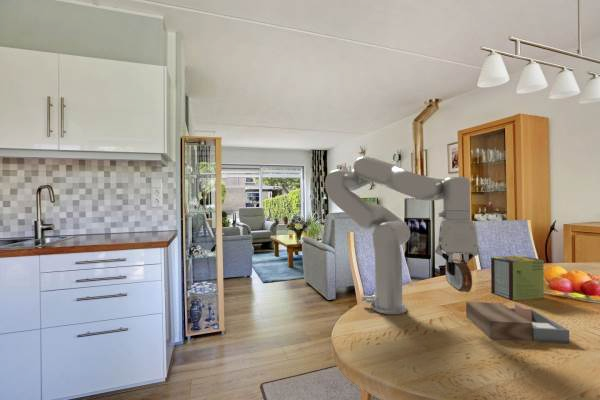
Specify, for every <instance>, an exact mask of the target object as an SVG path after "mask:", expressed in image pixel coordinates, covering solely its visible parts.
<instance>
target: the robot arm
mask: <svg viewBox="0 0 600 400" xmlns="http://www.w3.org/2000/svg"><path fill="white" fill-rule="evenodd" d="M370 183H375V184H377V185H380V186H383V187H386V188H388V189H390V190H392V191H396V192H398V193H400V194H403V195H405V196H409V197H412V198H414V199H417V200H420V201H439V200H442V201H443V202H442V205H443V206H442V207H443V208H442V209H443V210H442V211H441V212H438V217H440V218H442V220H441V222H440V225H439V231H438V244H437V247H436V248H435V251H434V253H435V254H437V255H438V256H440V257H442V259H444V260H445V262H446V261H447V271H448V273H449V274H450V275H454V263H453V257H454V254H460V261H461V262H463V263H465V264H467V265H468V263H469V262H470V261H471V260H472V259H473V257H476V256H477V257H478V255H480V251H479V248H478V239H477V232H476V227H475V223H474V221H473V220H471V180H470V179H469V177H465V176H452V177H451V176H450V177H446V178H444V179H443V178H435V177H430V176H425V175H422V174H419V173H414V172H412V171H409V170H405V169H404V168H402V167H401V166H399V165H396V164H393V163H391V162H386V161H383V160H380V159H378V158H374V157H370V156H360V157H358V158H356V160H355V161H354V163H353V169H352V170H346V169H333V170H331V171H329V173H327V175H326V176H325V183H324V186H325V187H324V188H325V192H326V194H327V196H328V198H329V199H330V201H331V202H333V204H335V205H336V206H337V207H338V208H339V209H340V210H342V212H343V213H345V214H346V215H347V216H348V217H349V218H350V219H352V221H354V222H355V224H357V225H358V226H359V227H360V228H362V229H366V230H367V229H368V230H369V229H374V230H373V233H372V243H373V249H374V287H375V288H374V292H373V295H372V294H370V295H362V296H361V297H362V299H361V301H363V302H365V303H366V304H370V308H371V309H372V310H373V311H375V312H378V313H380V314H384V315H390V316H391V315H392V316H393V315H397V316H398V315H401V314H405V313H406V312H407V310H408V308H407V305H406V304H405V303H403V256H402V251H401V246H402V245H404V244H406V243H407V242H408V241H409V240H410V238H411V229H410V228H409V226H408V224H407V223H406V222H405V221H403V220H402V219H401V218H399V217H398V216H397V215H396V214H394V213H393V212H392V211H391V210H389V209H388V208H387V207H385V206H384V205H381V204H377V203H368V202H367V201H365V200H364V199H362V198H361V196H359V195H358V194H356V193H354V192H353V191H356V190H358V189H361V188H363V187H365V186H367V185H368V184H370Z"/></svg>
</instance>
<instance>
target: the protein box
mask: <svg viewBox="0 0 600 400" xmlns="http://www.w3.org/2000/svg"><path fill="white" fill-rule="evenodd" d="M544 263H545V262H544V259H540V258H535V257H531V256H530V257H529V256H525V255H504V256H502V255H501V256H491V257H490V264H491V265H490V270H491V271H490V273H491V274H490V275H491V278H490V279H491V281H490V283H491V284H490V286H491V287H490V288H491V294H493V295H496V296H499V297H502V298H503V299H507V300H510V301H513V302H514V301H525V300H535V299H536V300H537V299H544V298H545V297H544V296H545V295H544V294H545V293H544V274H545V273H544V271H545V270H544Z"/></svg>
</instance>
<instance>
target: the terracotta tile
mask: <svg viewBox="0 0 600 400" xmlns="http://www.w3.org/2000/svg"><path fill="white" fill-rule="evenodd" d="M514 308H515V312H516V313H517V314H519V315H520V316H522V317H523V318H525V319H527V320H528V321H530V322H532V314H531V309H532V308H530V307H528V306H526V305H524V304H523V303H514Z"/></svg>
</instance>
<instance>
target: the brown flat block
mask: <svg viewBox="0 0 600 400" xmlns="http://www.w3.org/2000/svg"><path fill="white" fill-rule="evenodd" d="M465 306H466V307H465V309H466V310H465V316H466V318H468V320H469V321H470V322H472V323H473V324H474V325H475V326H476V327H477V328H478V329H479V330H480V331H481V332H483V334H484V335H485V336H487V338H489V339H490V340H491V339H494V340H506V341H507V340H510V341H526V342H527V341H528V342H533V340H532V323H531V322H530V321H528V320H527V319H525V318H523V317H522V316H520V315H519V314H517V313H516V312H514V311H513V310H511V309H509V308H510V307H508V306H506V304H503V303H501V302H480V301H466V302H465Z"/></svg>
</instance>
